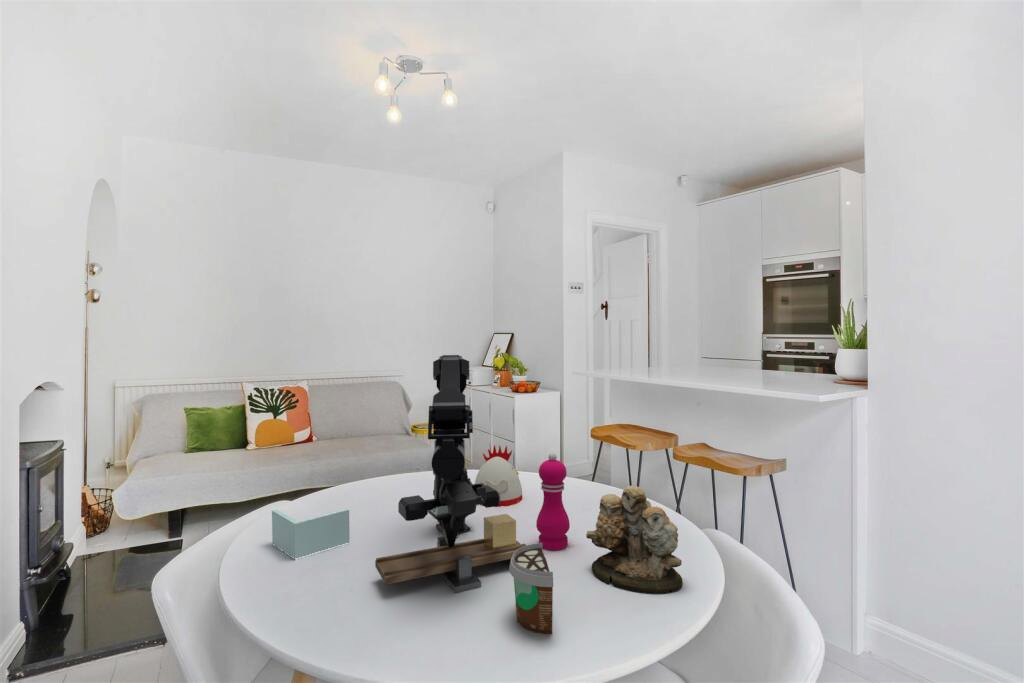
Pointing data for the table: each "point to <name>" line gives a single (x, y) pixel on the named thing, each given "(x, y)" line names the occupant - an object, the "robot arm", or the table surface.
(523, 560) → the food container
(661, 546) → the owl figurine
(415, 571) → the balance beam
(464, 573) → the stand
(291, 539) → the right angle wall
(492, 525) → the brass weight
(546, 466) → the pepper mill
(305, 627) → the table surface
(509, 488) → the kitchen timer
